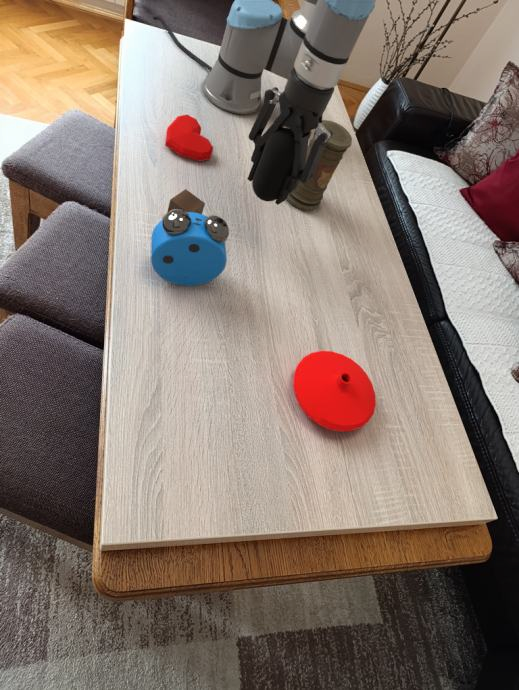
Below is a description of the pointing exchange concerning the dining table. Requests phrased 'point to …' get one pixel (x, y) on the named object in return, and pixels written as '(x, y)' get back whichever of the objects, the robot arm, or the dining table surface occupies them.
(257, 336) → the dining table surface
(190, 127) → the heart
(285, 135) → the decorative object
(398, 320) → the dining table surface
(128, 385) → the dining table surface
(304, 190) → the container
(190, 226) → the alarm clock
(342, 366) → the flat cone with hole
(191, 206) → the walnut block
